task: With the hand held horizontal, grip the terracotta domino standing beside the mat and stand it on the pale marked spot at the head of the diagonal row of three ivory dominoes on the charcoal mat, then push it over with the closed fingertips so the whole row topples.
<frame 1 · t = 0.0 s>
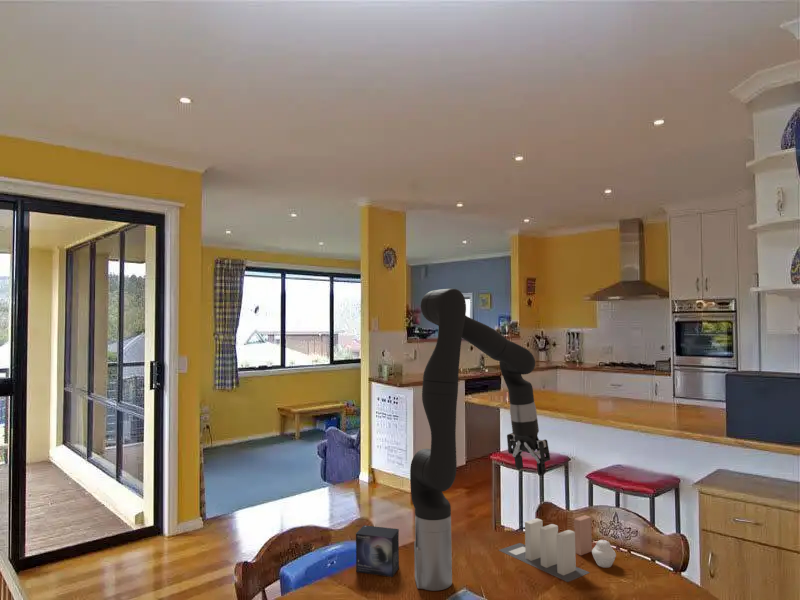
hand: (530, 471, 162), 22 cm above the table, tool pointing down, fingers open, 8 cm apart
ivory domino 3: (549, 564, 150), resting on domino mat
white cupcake: (604, 566, 149), on the table
ivory domino 2: (534, 557, 155), resting on domino mat
terracotta domino: (583, 553, 158), on the table
small box: (377, 570, 149), on the table
domino mat: (541, 562, 152), on the table
ivory domino 4: (566, 571, 146), resting on domino mat
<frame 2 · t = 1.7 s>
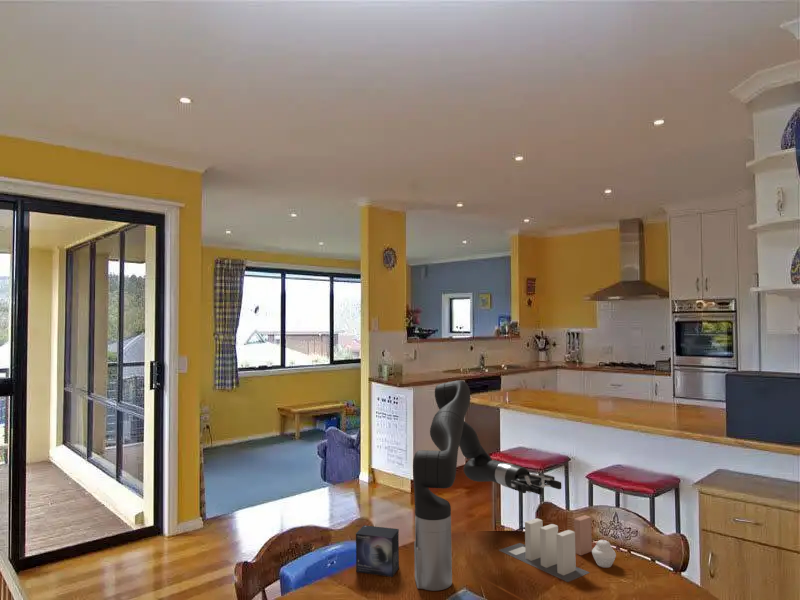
hand: (551, 488, 168), 16 cm above the table, tool horizontal, fingers open, 8 cm apart
nothing on the table moved.
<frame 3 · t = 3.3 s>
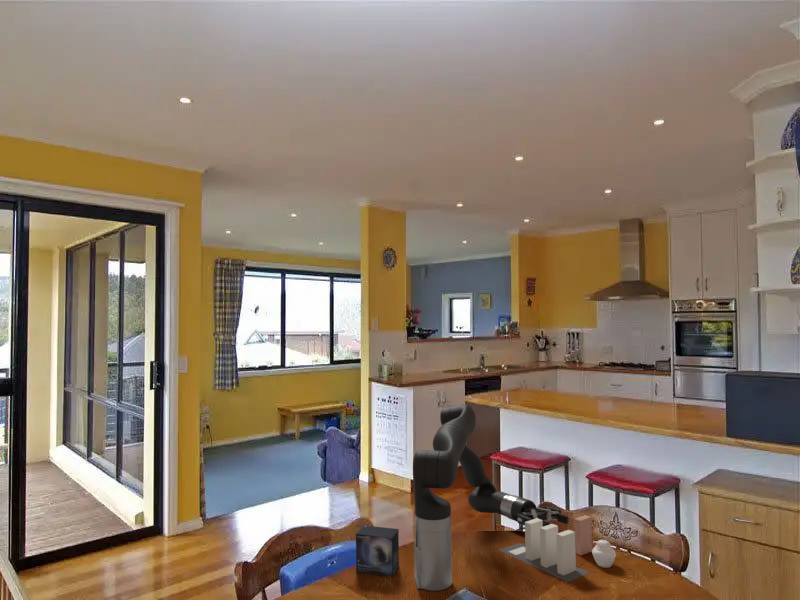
hand: (558, 523, 165), 6 cm above the table, tool horizontal, fingers open, 8 cm apart
nothing on the table moved.
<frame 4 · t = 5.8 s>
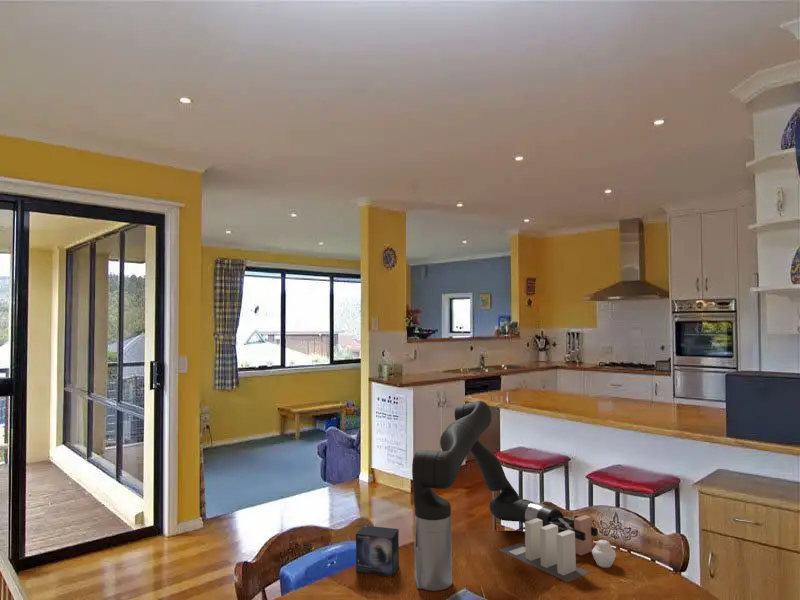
hand: (590, 534, 156), 6 cm above the table, tool horizontal, fingers closed on terracotta domino, 5 cm apart
terracotta domino: (583, 553, 158), on the table, touching gripper
everything else where it was.
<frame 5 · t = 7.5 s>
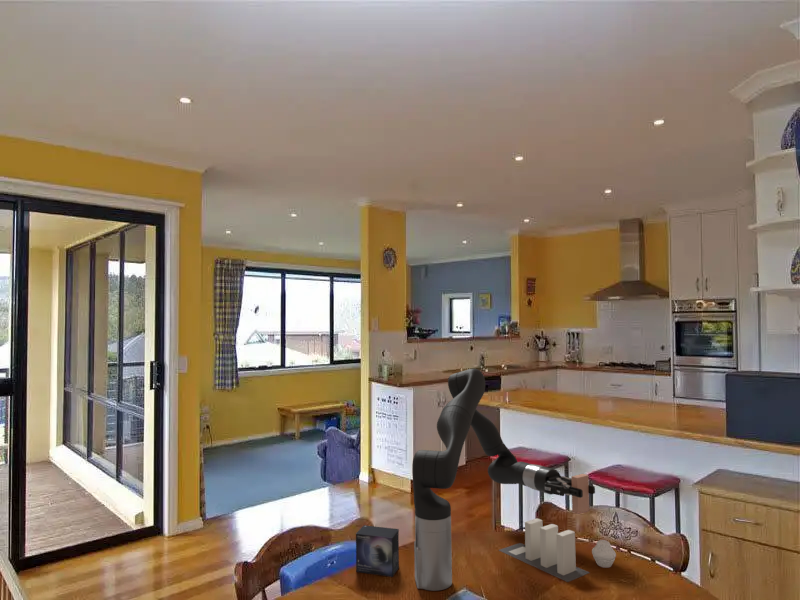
hand: (587, 492, 156), 18 cm above the table, tool horizontal, fingers closed on terracotta domino, 5 cm apart
terracotta domino: (580, 511, 158), point 12 cm above the table, touching gripper
everything else where it was.
when the fingers open (7 cm above the table, at t = 13.5 s): terracotta domino stays where it is, resting on domino mat.
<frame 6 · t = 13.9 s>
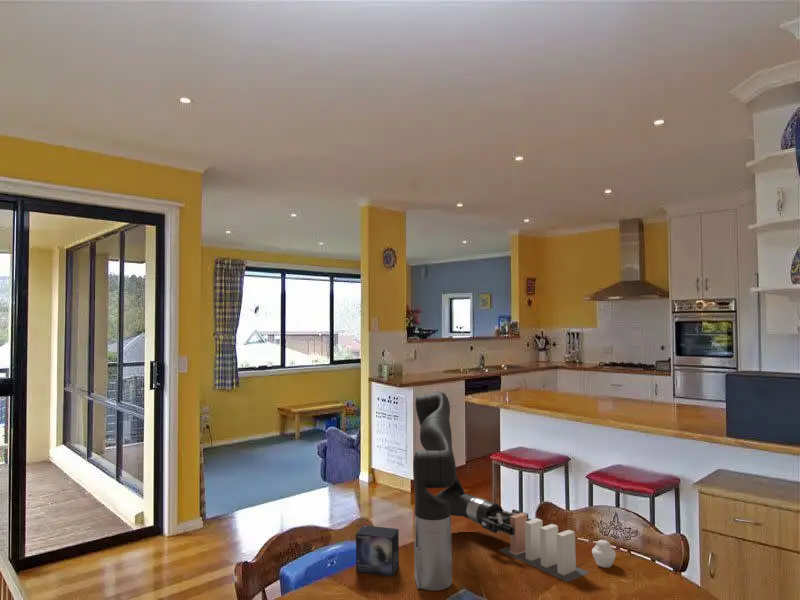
hand: (524, 528, 158), 7 cm above the table, tool horizontal, fingers open, 8 cm apart
terracotta domino: (519, 550, 159), resting on domino mat
everything else where it was.
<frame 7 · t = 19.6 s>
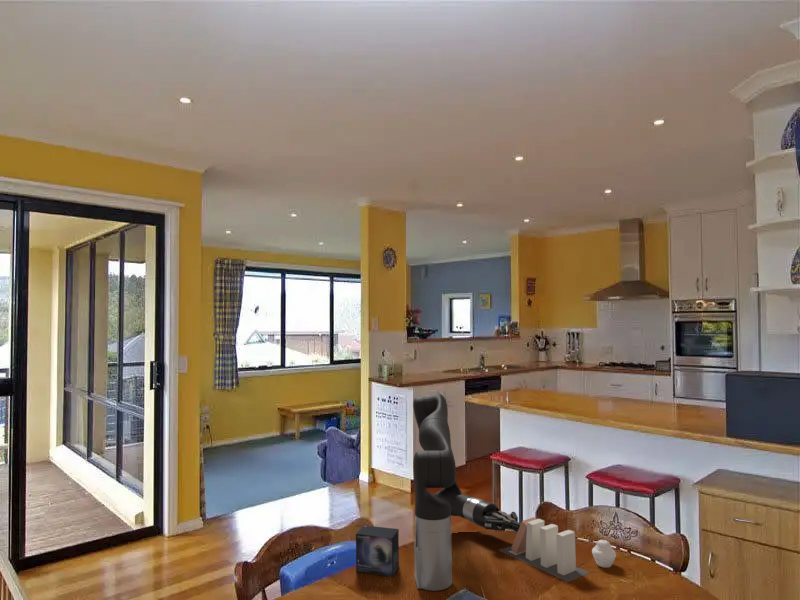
hand: (522, 528, 158), 7 cm above the table, tool horizontal, fingers closed
terracotta domino: (519, 549, 159), point 1 cm above the table, tilted 25°, touching domino mat
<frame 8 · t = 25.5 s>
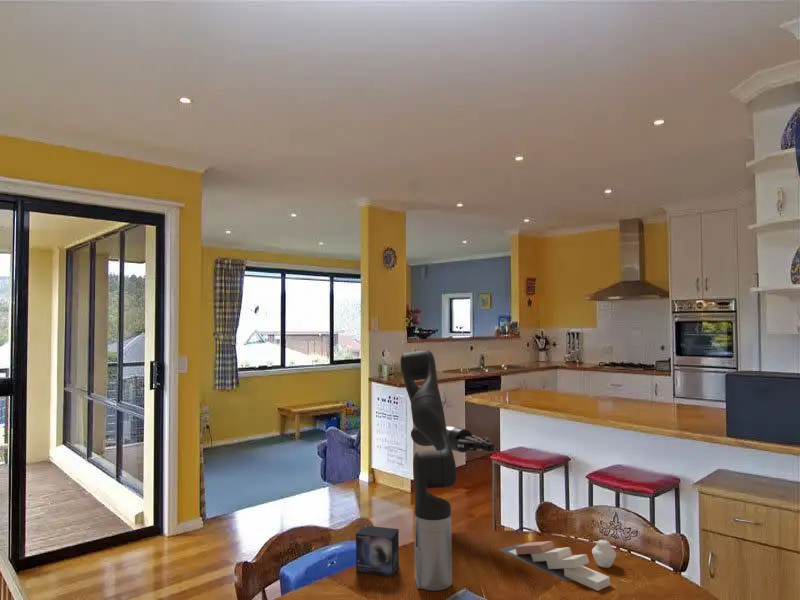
hand: (492, 447, 168), 28 cm above the table, tool horizontal, fingers closed
ivory domino 3: (553, 562, 149), point 1 cm above the table, tilted 68°, touching domino mat, ivory domino 2, ivory domino 4
ivory domino 2: (538, 555, 154), point 1 cm above the table, tilted 69°, touching domino mat, ivory domino 3, terracotta domino
terracotta domino: (522, 548, 158), point 1 cm above the table, tilted 70°, touching domino mat, ivory domino 2
ivory domino 4: (570, 569, 145), point 1 cm above the table, tilted 90°, touching domino mat, ivory domino 3
everything else where it was.
at the end: ivory domino 4 tilted 90°; terracotta domino 1.1 cm from the target spot on the domino mat, point 1.4 cm above the domino mat's base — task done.
